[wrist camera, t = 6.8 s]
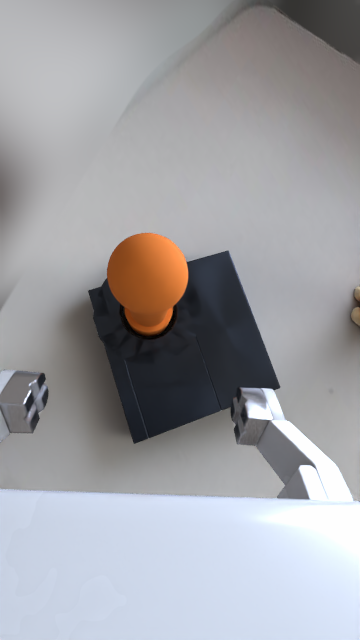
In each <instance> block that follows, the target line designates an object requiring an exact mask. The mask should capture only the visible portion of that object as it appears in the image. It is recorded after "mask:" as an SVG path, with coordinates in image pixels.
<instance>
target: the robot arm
mask: <svg viewBox="0 0 360 640" xmlns="http://www.w3.org/2000/svg"><path fill="white" fill-rule="evenodd" d="M45 380H46V378H45V374H44V373H39V372H28V371H18V370H5V369H4V370H3V371H1V372H0V443H1V442H2V441H3V440H4V439H5V438H6V437H7V436H9V435H10V433H33V432H34V430H35V428H36V425H37V423H38V421H39V419H40V418H39V414H38V413H39V412H41V411H42V410H43V409H44V408H45V406H46V403H47V399H48V386H47V385H45V384H44V382H45ZM235 393H236V397H235V398H233V400H232V403H231V418H232V421H233V422H234V423H235V424H236V426H235V428H234V433H235V437H236V442H237V444H242V445H254V446H256V447H257V449H258V450H259V451H260V453H261V454H262V455H263V457H264V458H265V459H266V460H267V462H268V463H269V464H270V466H271V467H272V468H273V470H274V471H275V472H276V474H277V475H278V476H279V478H280V479H281V480H282V482H283V483H284V484H285V487H284V488H283V489H282V491H281V492H280V493H279V495H278V496H277V498H250V497H221V496H192V495H162V494H133V493H103V492H73V491H42V490H12V489H0V640H360V501H354V500H353V498H352V495H351V493H350V491H349V489H348V487H347V485H346V483H345V481H344V479H343V477H342V475H341V473H340V471H339V469H338V467H337V465H336V464H334V463H333V462H332V461H331V460H330V459H329V458H328V457H327V456H326V455H325V454H324V453H323V452H322V451H321V450H319V449H318V448H317V447H316V446H315V445H314V444H313V443H312V442H311V441H310V440H309V439H308V438H307V437H305V436H304V435H303V434H302V433H301V432H300V431H299V430H298V429H297V428H296V427H295V426H294V425H293V424H291V423H290V422H289V421H286V420H285V418H284V415H283V413H282V410H281V407H280V405H279V402H278V400H277V397H276V395H275V392H274V390H273V389H267V388H254V387H238V388H237V389H236V392H235Z"/></svg>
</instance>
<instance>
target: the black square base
mask: <svg viewBox="0 0 360 640" xmlns="http://www.w3.org/2000/svg"><path fill="white" fill-rule="evenodd" d="M186 263H187V267H188V283H187V286H186V289H185V292H184V294H183V295H182V297H181V298H180V300H179V301H178V302H177V303H176V304H175V305H174V306H173V309H174V312H175V319H174V324H173V326H172V328H171V330H169V331H168V332H167V333H166V334H165V335H164V336H162V337H158V338H155V339H140V338H139V337H137V336H135V335H133V334H131V333H130V332H129V331H128V330H127V329H126V328H125V325H124V322H123V319H122V317H123V308H124V306H123V305H121V304H120V303H119V302H118V301H117V299H116V298H115V297H114V295H113V293H112V292H111V289H110V287H109V283H108V279H106V280H105V281H104V283H103V285H102V287H99V288H95V289H91V290H89V291H88V292H89V296H90V299H91V302H92V306H93V309H94V315H93V319H94V322H95V325H96V329H97V332H98V335H99V338H100V339H101V340H102V342H103V343H104V346H105V349H106V352H107V356H108V359H109V362H110V366H111V369H112V372H113V376H114V379H115V382H116V386H117V389H118V392H119V396H120V399H121V402H122V406H123V409H124V412H125V416H126V419H127V422H128V426H129V429H130V432H131V436H132V439H133V442H134V444H135V443H138V442H140V441H143V440H146V439H148V438H151V437H154V436H156V435H159V434H161V433H164V432H167V431H169V430H172V429H174V428H177V427H180V426H182V425H185V424H187V423H190V422H193V421H195V420H198V419H201V418H203V417H206V416H208V415H211V414H214V413H216V412H219V411H221V410H224V409H226V408H229V407H231V403H232V400H233V398H235V397H236V393H235V392H236V389H237V388H238V387H254V388H267V389H273V390H276V389H279V388H280V385H279V382H278V380H277V377H276V375H275V372H274V369H273V367H272V364H271V361H270V359H269V356H268V353H267V351H266V348H265V345H264V343H263V340H262V338H261V335H260V332H259V330H258V327H257V324H256V322H255V319H254V316H253V314H252V311H251V308H250V306H249V303H248V300H247V298H246V295H245V293H244V290H243V287H242V285H241V282H240V279H239V277H238V274H237V271H236V269H235V266H234V263H233V261H232V258H231V256H230V253H229V251H225V252H221V253H218V254H214V255H211V256H207V257H204V258H200V259H197V260H193V261H190V262H186Z"/></svg>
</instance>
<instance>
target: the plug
mask: <svg viewBox="0 0 360 640" xmlns="http://www.w3.org/2000/svg"><path fill="white" fill-rule="evenodd" d="M107 279H108V283H109V287H110V289H111V292H112V293H113V295H114V297H115V298H116V299H117V301H118V302H119V303H120V304H121V305H123V306H124V307H125V315H126V318H127V320H128V322H129V324H130V326H131V328H132V329H133V330H134V331H135V332H136V333H138V334H139V335H142V336H147V337H151V336H156V335H158V334H160V333H161V332H163V331H164V330H165V329H166V327H167V326H168V324H169V321H170V319H171V317H172V312H173V306H174V305H175V304H176V303H177V302H178V301H179V300H180V298H181V297H182V295H183V294H184V292H185V289H186V286H187V283H188V267H187V263H186V260H185V257H184V255H183V254H182V252H181V250H180V249H179V248H178V247H177V246H176V245H175V244H174V243H173V242H172V241H171V240H169V239H167V238H166V237H163V236H161V235H158V234H153V233H141V234H136V235H133V236H131V237H129V238H127V239H125V240H124V241H122V242H121V243H120V244H119V245H118V246H117V247H116V248H115V250H114V251H113V253H112V255H111V257H110V259H109V262H108V268H107Z"/></svg>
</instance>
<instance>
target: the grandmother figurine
mask: <svg viewBox="0 0 360 640" xmlns="http://www.w3.org/2000/svg"><path fill="white" fill-rule="evenodd" d="M354 296H355V298H356V299H357V300H358V301H359V302H360V286H358V287H356V289H355V293H354ZM351 318H352V320H353V321H354V322H355V323H356V324H357V325H358V326H360V307H356V308H354V309H353V311H352V313H351Z"/></svg>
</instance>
